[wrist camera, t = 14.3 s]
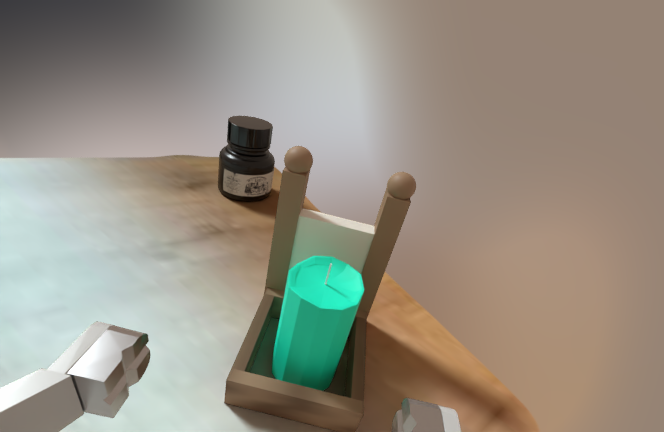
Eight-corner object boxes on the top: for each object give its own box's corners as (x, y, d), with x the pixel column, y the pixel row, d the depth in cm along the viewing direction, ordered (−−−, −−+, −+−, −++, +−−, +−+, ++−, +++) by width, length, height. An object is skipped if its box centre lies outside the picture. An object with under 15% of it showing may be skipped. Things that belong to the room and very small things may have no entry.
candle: (321, 333, 34) (349, 238, 28) (345, 387, 29) (384, 287, 23) (264, 344, 31) (281, 242, 25) (280, 405, 26) (306, 298, 21)
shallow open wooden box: (224, 402, 26) (226, 379, 24) (264, 307, 35) (267, 286, 33) (353, 435, 26) (363, 414, 24) (359, 331, 35) (366, 311, 33)
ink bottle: (222, 205, 51) (227, 130, 45) (209, 180, 57) (211, 111, 51) (280, 200, 56) (290, 133, 50) (262, 178, 62) (269, 116, 56)
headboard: (259, 308, 35) (283, 147, 26) (266, 292, 37) (290, 139, 28) (363, 334, 35) (421, 182, 26) (364, 317, 37) (418, 171, 28)
